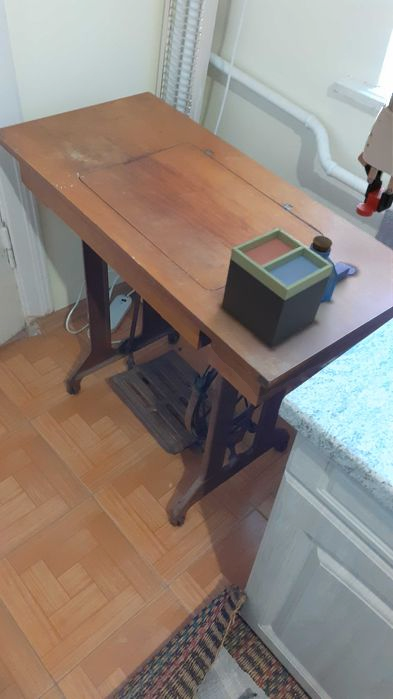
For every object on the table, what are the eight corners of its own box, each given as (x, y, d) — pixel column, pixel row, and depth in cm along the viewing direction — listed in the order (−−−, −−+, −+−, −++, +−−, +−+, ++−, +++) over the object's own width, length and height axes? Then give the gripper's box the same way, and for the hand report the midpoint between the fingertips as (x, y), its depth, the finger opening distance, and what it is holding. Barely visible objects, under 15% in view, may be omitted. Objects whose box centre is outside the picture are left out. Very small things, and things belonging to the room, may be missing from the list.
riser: (263, 288, 97) (276, 237, 89) (312, 325, 92) (330, 275, 84) (221, 310, 92) (230, 258, 84) (269, 351, 87) (284, 300, 79)
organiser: (276, 237, 89) (278, 227, 88) (330, 275, 84) (333, 265, 82) (230, 258, 84) (232, 248, 83) (284, 300, 79) (287, 290, 77)
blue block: (333, 288, 99) (338, 276, 97) (321, 279, 101) (325, 267, 99) (357, 275, 103) (361, 263, 101) (344, 266, 104) (349, 255, 102)
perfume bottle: (281, 288, 98) (297, 233, 89) (311, 283, 100) (328, 228, 91) (298, 311, 94) (316, 255, 85) (328, 304, 96) (348, 249, 87)
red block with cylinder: (375, 199, 100) (380, 186, 98) (388, 206, 99) (394, 193, 97) (352, 211, 97) (356, 197, 95) (365, 218, 95) (370, 205, 93)
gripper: (469, 117, 83) (424, 220, 96) (385, 82, 91) (354, 181, 104) (443, 129, 80) (400, 234, 93) (357, 91, 87) (329, 192, 101)
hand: (376, 205), depth 98 cm, fingers closed on red block with cylinder, 2 cm apart
